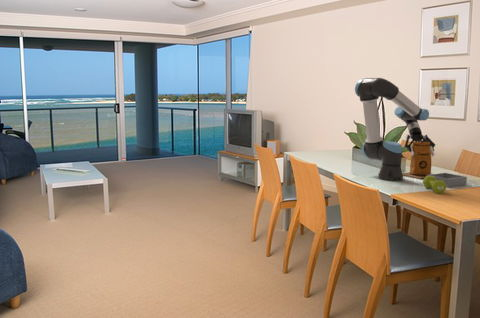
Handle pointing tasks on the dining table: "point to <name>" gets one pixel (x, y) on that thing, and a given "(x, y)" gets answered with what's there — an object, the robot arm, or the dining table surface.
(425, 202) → the dining table surface
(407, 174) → the board
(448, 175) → the tray
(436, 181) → the dumbbell
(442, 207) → the dining table surface
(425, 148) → the coffee package
